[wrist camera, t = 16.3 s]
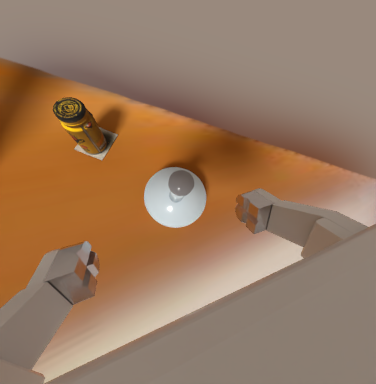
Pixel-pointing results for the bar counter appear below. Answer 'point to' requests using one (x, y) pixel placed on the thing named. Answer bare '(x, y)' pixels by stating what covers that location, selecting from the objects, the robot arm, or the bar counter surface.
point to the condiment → (83, 128)
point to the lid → (175, 197)
